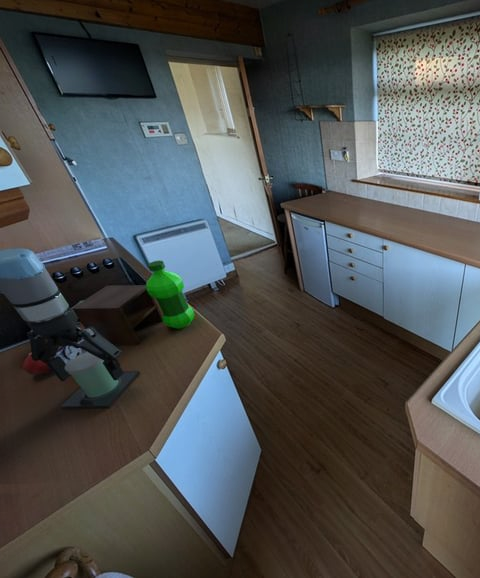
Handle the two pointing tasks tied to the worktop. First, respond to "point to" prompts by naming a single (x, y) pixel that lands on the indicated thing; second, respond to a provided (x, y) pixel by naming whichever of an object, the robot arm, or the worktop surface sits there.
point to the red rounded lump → (35, 366)
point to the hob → (104, 401)
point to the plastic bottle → (169, 296)
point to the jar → (91, 375)
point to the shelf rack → (118, 312)
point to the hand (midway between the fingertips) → (93, 376)
